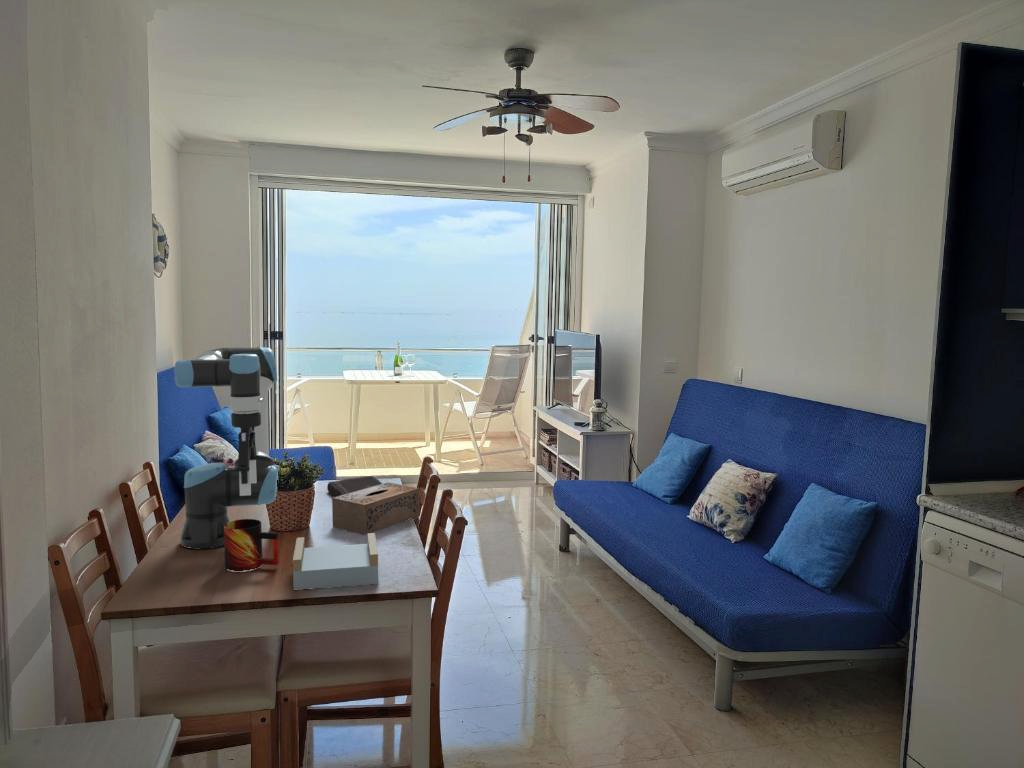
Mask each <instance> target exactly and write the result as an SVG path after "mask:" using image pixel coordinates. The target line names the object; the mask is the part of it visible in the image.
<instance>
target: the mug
mask: <svg viewBox="0 0 1024 768" xmlns="http://www.w3.org/2000/svg"><path fill="white" fill-rule="evenodd" d="M278 533H279V532H269V531H268V532H266V531H263V530H262V521H261V520H258V519H255V518H244V519H243V518H241V519H236V520H230V522H228V523H226V524H225V525H224V546H223V547H224V567H225V568H226V569H229V570H234V571H243V570H250V569H255V568H258V567H260V566H261V565H262V564H263V565H270V566H278V565H279V564H280V555H279V537H278V536H279V534H278ZM263 540H272V546H273V547H272V549H273V558H271V557H263ZM263 565H262V566H263Z"/></svg>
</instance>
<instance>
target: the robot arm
mask: <svg viewBox="0 0 1024 768" xmlns="http://www.w3.org/2000/svg"><path fill="white" fill-rule="evenodd" d="M277 373H278V372H277V367H276V360H275V353H274V351H273V349H272V348H271V347H263V346H262V347H261V346H257V347H219V348H214V349H209V350H207V351H204V352H201V353H199V354H198V355H197V356H195V358H194V359H180V360H177V361H176V362H175V363H174V382H175V385H176V387H178V388H207V387H211V388H213V387H230V398H229V399H230V411H231V415H230V418H231V426H232V427H233V428H239V433H238V434H237V439H238V457H237V459H235V461H234V466H233V467H227V465H226V463H224V462H210V463H205V464H200V465H197V466H194V467H191V468H190V469H188V470H187V471H186V472H185V474H184V481H183V482H184V485H183V488H184V501H185V504H184V505H185V520H184V523H183V526H182V530H181V534H180V537H179V541H180V542H179V544H180V543H181V544H182V545H183V546H186V547H191V548H210V549H212V548H211V547H216V548H218V547H217V546H221V547H223V546H222V545H224V525H225V524H226V523H228V522H231V520H230V517H229V514H228V507H242V506H243V507H245V506H256V505H257V506H261V505H267V504H272V503H273V502H275V500H276V499H277V494H276V492H277V493H278V487H277V480H278V481H279V476H278V470H279V471H280V466H279V465H276V464H275V461H274V458H272V457H271V456H270V450H269V449H270V447H269V446H270V445H269V443H270V442H269V440H270V439H269V438H270V437H269V430H270V429H269V391H270V390H271V389H272V388H273V383H275V382H276V383H277V381H278V374H277Z"/></svg>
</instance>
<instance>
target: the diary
mask: <svg viewBox="0 0 1024 768" xmlns="http://www.w3.org/2000/svg"><path fill="white" fill-rule="evenodd" d="M380 484H383V482H381V481H380V480H379V479H377V477H374V476H373V475H370V476H369V475H368V476H360V477H351V478H350V477H349V478H345V479H341V480H335V481H334V480H333V481H329V482H328V483H327V488H326V489H327V492H328V493H331V494H330V495H331V496H333V497H334V496H335V497H337V496H341V495H344V494H348V493H351V492H355V491H358V490H362V489H366V488H369V487H373V486H376V485H380Z"/></svg>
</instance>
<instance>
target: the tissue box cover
mask: <svg viewBox="0 0 1024 768" xmlns="http://www.w3.org/2000/svg"><path fill="white" fill-rule="evenodd" d="M331 503H332V507H331V509H332V510H331V511H332V512H331V513H332V528H333V527H334V529H337V528H338V530H341V529H342V530H343V531H345V530H347V531H346V532H349V531H350V533H353V532H354V534H357V533H358V535H361V534H362V535H361V536H368V535H367V534H368V533H372V532H373V533H375V531H376V532H379V531H382V530H384V529H387V528H390V527H392V525H393V526H395V524H396V525H398V524H397V523H399V524H400V523H401V524H402V523H404V522H406V520H407V521H409V520H408V519H410V518H412V519H414V518H415V519H416V518H417V517H418V518H419V517H420V487H415V486H411V485H404V484H400V483H399V484H398V483H393V482H390V481H387V482H382V484H380V485H376V486H373V487H369V488H366V489H362V490H358V491H355V492H351V493H348V494H344V495H341V496H337V497H334V496H333V497H331ZM412 519H410V520H412ZM389 526H390V527H389ZM381 529H382V530H381ZM378 530H379V531H378Z"/></svg>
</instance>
